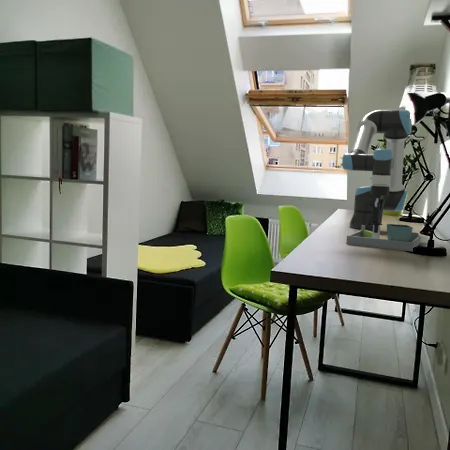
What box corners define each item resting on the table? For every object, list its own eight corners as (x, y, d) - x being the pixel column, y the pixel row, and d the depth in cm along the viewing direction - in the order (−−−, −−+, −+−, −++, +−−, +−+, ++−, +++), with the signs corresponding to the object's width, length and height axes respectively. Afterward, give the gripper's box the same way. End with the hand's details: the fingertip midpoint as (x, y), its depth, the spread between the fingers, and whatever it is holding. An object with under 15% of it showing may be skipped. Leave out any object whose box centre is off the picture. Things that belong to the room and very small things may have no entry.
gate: (365, 237, 220) (366, 228, 220) (379, 242, 208) (380, 231, 207) (362, 237, 220) (363, 227, 219) (375, 242, 208) (376, 231, 207)
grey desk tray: (359, 237, 223) (360, 224, 222) (420, 244, 210) (421, 230, 210) (346, 243, 202) (347, 229, 201) (412, 251, 189) (414, 236, 188)
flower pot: (411, 248, 196) (413, 227, 195) (389, 247, 197) (391, 226, 196) (405, 245, 205) (407, 224, 204) (384, 244, 206) (386, 223, 205)
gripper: (374, 184, 210) (370, 237, 213) (368, 185, 199) (363, 240, 202) (392, 185, 207) (387, 239, 210) (386, 186, 195) (381, 242, 198)
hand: (375, 240), depth 206 cm, fingers closed
